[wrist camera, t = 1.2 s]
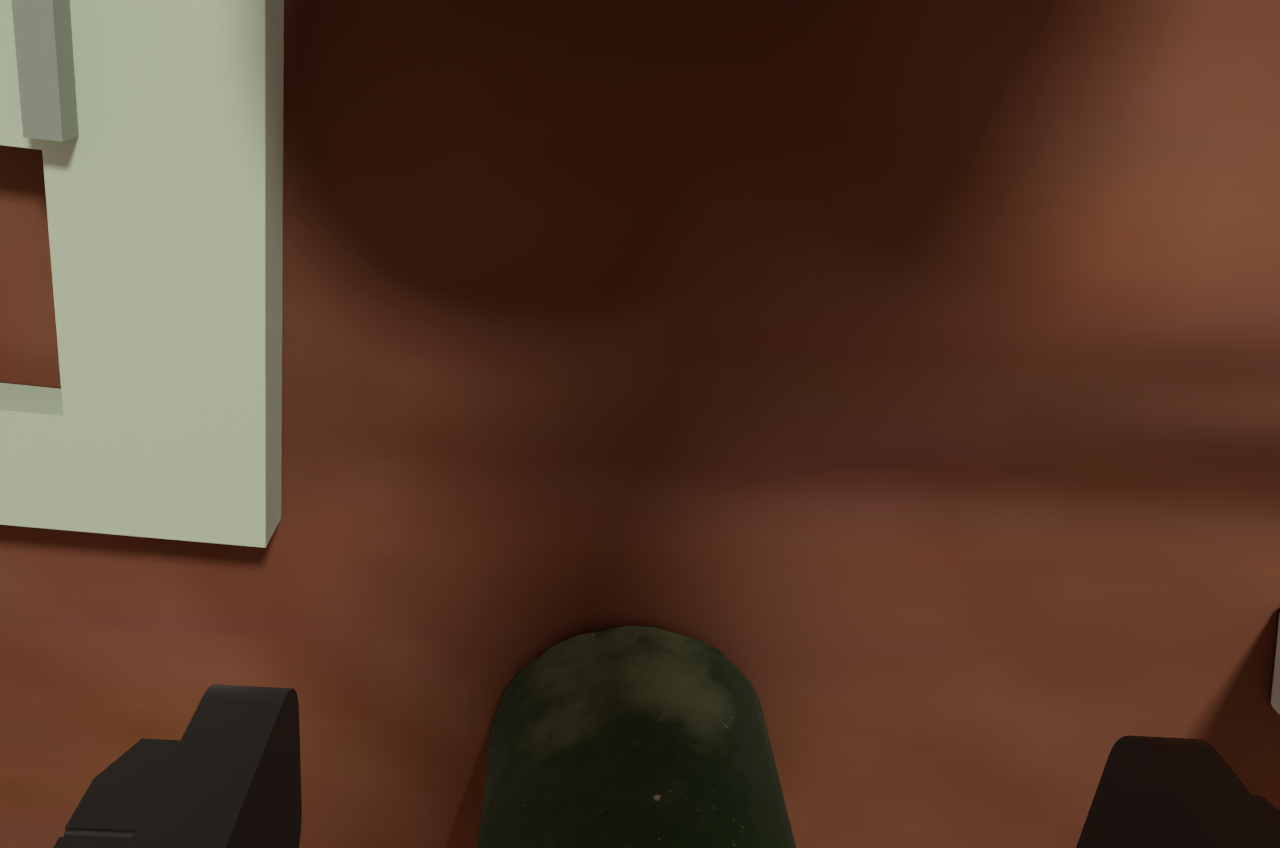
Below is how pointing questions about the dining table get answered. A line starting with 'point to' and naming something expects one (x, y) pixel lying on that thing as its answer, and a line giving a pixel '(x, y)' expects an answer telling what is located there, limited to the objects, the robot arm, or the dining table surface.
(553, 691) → the dark green tall piece
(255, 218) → the putting mat
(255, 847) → the robot arm
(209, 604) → the dining table surface
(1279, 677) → the jar
